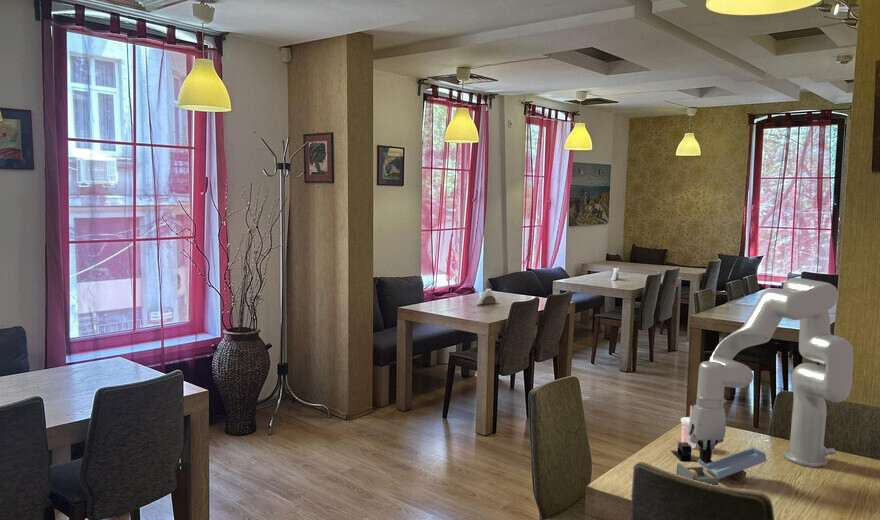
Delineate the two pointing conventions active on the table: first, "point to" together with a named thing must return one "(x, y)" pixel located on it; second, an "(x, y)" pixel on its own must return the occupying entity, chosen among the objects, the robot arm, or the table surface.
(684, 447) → the black boxy piece
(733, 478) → the fulcrum
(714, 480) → the tray
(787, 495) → the table surface
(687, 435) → the beverage cup
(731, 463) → the lever
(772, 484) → the table surface
